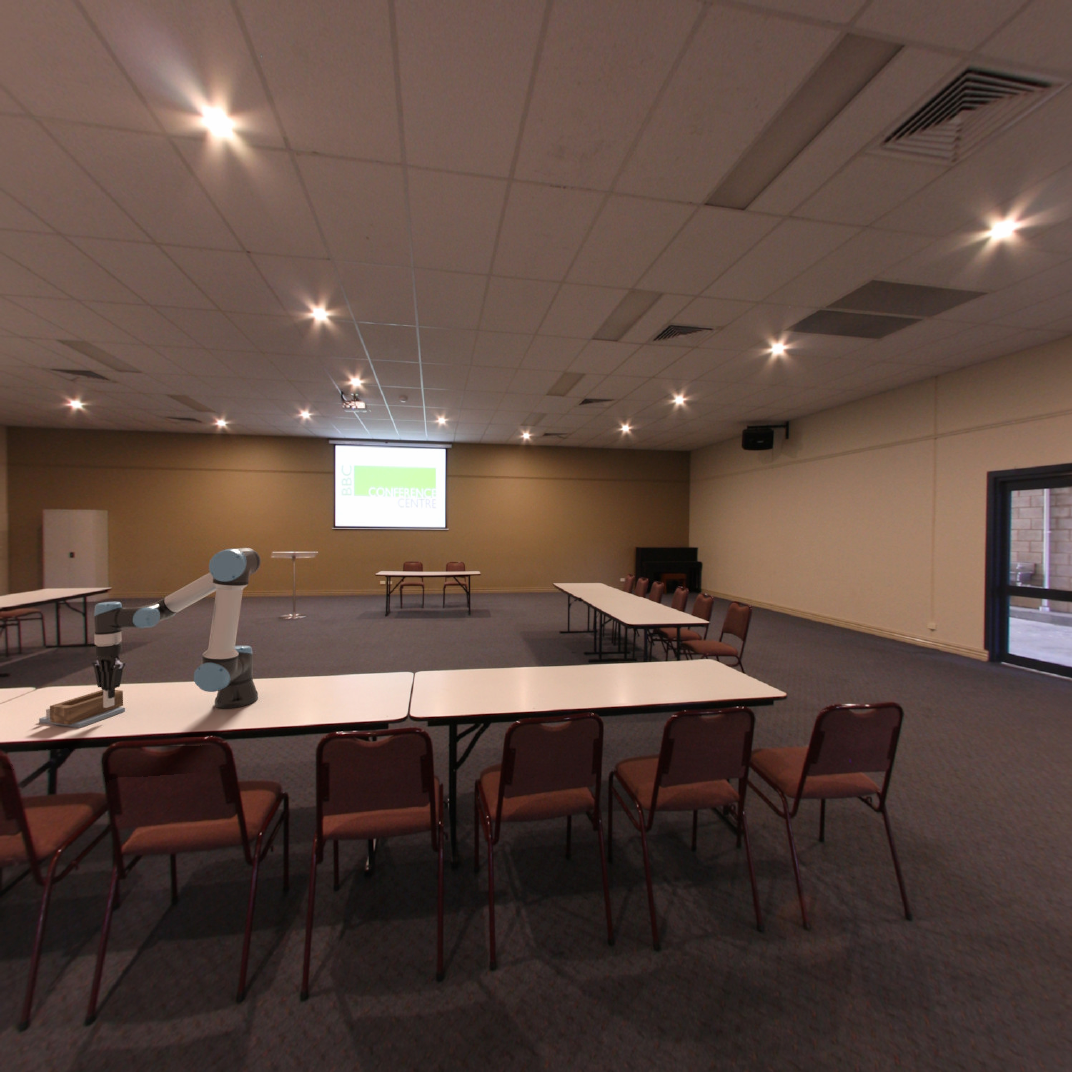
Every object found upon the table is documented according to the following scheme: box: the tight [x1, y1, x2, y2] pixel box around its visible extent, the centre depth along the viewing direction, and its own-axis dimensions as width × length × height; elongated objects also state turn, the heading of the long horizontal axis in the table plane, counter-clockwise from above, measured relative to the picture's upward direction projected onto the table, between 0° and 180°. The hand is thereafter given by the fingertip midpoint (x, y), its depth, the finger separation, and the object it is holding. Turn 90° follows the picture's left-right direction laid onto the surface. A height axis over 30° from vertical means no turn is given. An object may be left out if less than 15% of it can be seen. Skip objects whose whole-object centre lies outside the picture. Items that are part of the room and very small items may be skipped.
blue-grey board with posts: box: [38, 706, 126, 729], centre depth 178 cm, size 20×15×5 cm
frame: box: [49, 689, 124, 725], centre depth 177 cm, size 9×18×6 cm, turn 167°
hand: (108, 706), depth 175 cm, fingers closed
